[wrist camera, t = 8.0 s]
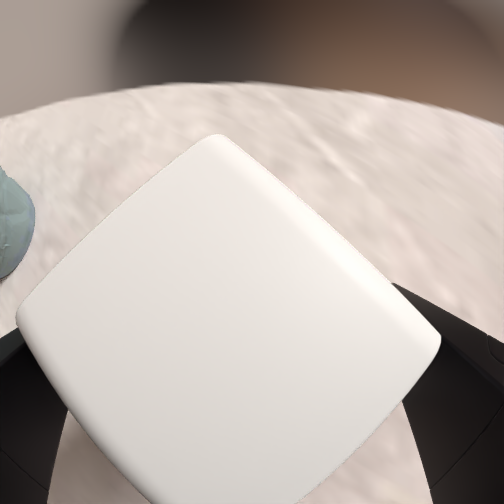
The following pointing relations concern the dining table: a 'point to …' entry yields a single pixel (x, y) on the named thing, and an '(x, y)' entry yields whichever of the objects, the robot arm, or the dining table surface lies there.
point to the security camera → (223, 336)
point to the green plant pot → (14, 223)
